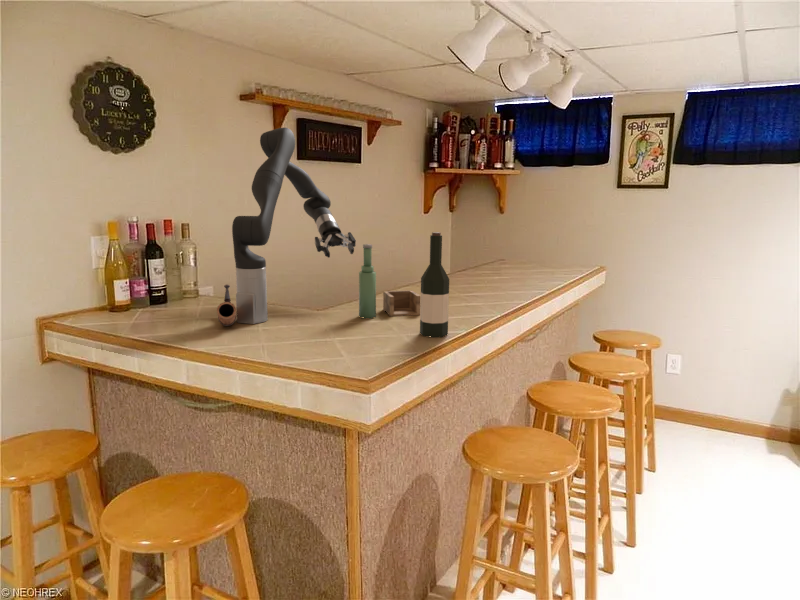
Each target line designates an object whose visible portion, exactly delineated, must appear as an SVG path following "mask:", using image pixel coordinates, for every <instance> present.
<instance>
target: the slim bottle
mask: <svg viewBox="0 0 800 600" xmlns="http://www.w3.org/2000/svg"><path fill="white" fill-rule="evenodd" d="M362 249H363V264H362V265H361V271H360V270H359V271H358V317H359V316H360V317H364V318H363V319H366V318H369V319H374V318H373V317H375V318H377V271H374V270H375V269H374V268H375V266H374V265H372V254H373V253H372V249H373V244H371V243H370V244H368V243H365V244H362ZM360 317H359V318H360Z"/></svg>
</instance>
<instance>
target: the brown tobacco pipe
mask: <svg viewBox="0 0 800 600" xmlns="http://www.w3.org/2000/svg"><path fill="white" fill-rule="evenodd" d="M224 288H225V293H224V299H223V302H221V303H220V304H219V305H218V306H217V308H216V314H217V320H218V322H219V323H220V324H221V325H223V326H224V327H230V326H232V325H234V323H235V322H236V321H237V309H236V305H234V303H232V302H231V295H230V290H229V288H230V284H225V285H224Z"/></svg>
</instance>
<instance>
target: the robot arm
mask: <svg viewBox="0 0 800 600" xmlns="http://www.w3.org/2000/svg"><path fill="white" fill-rule="evenodd" d="M259 139H260V140H259V143H260V144H259V145H260V147H261V149H262V152H263V153H264V155H265V156H266V157H267V159H266V160H265V161H264V162H263V163H262V164H261V165H260V166H259V167H258V169H257V170H256V172H255V173H254V176H253V180H252V182H251V193H252V195H253V197H254V200H255V202H256V203H257V204H258V207H259V209H260V213H259V214H258V215H237V216H235V217H234V219H233V220H232V225H231V230H232V231H231V232H232V236H231V237H232V243H233V245H232V246H233V255H234V261H235V262H234V263H235V277H236V281H235V282H236V283H235V284H236V293H235V307H236V323H238V324H251V325H253V324H259V323H265V322H266V321H268V319H269V318H268V317H269V316H268V293H267V291H268V290H267V267H266V266H267V260H266V259H265V257H263V256H261V255H258V254H256V253H254V252H253V251H251V249H250V248H249V246H252V247H260V246H262V247H263V246H265V245H266V244H268V241H269V239H270V236H271V231H272V225H273V220H274V219H273V218H274V213H275V209H276V206H277V203H278V198H279V195H280V192H281V189H282V186H283V182H284V178H285V177H286V178H287V179H288V180H289V181H290V183H291V184H292V185H293V188H294V189H295V190H296V192H297V193H298V194H299V196H300V197H301V198H302V199H304V200H305V201H304V203H303V210H304V212H305V213H306V214H307V215H308V216H309V217H310V218H311V219H313V221H314V223H315V224H316V225H315V226H316V228H317V232H318V233H319V235H320V237H318V236H314V244H315V248H316V251H317V252H318V253H320V252H323V254H324V257H327V259H329V258H331V252H330V247H333V248H334V247H337V246H338V247H339V246H341V247H343V248H347V249H348V252H349V254H350V255H354V252H355V247H356V245H357V244H356V242H357V241H356V239H355V237H354V236H353V234H352V232H350V231H349V232H347V234H344V233H343V232H342V230H341V228H340V225H339V224H338V223H337V221H336V219H335V217H334V216H333V214H332V211H331V210H330V207H331V204H332V203H331V199H330V198H329V196H328V195H327V194H326V193H325V192H324V191H322V190H321V189H320V188H319V187H317V185H316V183H314V181H313V179H312V178H311V176H310V175H309V173H308V172H306V171H305V170H304V169H303V168H301V167H300V166H298V165H296V164H295V163H293V162H292V161H290V160H291V159H292V157H293V155H294V152H295V148H296V139H295V134H294V131H292V129H290V128H288V127H279V128H275V129H271V130H269V131H265V132H263V133H261V135H260V138H259ZM306 199H307V200H306ZM321 243H323V245H321Z"/></svg>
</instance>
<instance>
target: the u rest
mask: <svg viewBox="0 0 800 600" xmlns="http://www.w3.org/2000/svg"><path fill="white" fill-rule="evenodd" d="M382 292H383V295H382V296H383V297H382V298H383V299H382V301H383V303H382V304H383V305H382V310H383V311H384V312H385V311H386V312H387V313H388V314H389V315H390V316H389V315H388V314H387V313H386V312H385V313H386V314H387V315H388V316H389V317H401V316H402V317H404V316H403V315H407V316H420V305H421V294H419V293H417V292H415V291H414V290H390V291H389V290H388V291H387V290H386V291H382Z"/></svg>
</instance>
